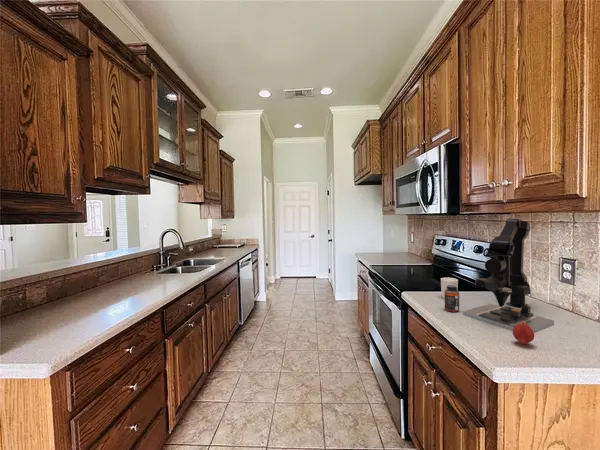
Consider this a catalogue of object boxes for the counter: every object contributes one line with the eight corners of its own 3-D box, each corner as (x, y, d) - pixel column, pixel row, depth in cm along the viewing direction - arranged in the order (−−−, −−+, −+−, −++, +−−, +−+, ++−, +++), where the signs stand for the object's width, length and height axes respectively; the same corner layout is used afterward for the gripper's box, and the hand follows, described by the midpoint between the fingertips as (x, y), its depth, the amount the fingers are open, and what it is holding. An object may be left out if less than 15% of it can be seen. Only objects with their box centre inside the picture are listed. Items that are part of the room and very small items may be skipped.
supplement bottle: (461, 312, 127) (461, 287, 126) (446, 312, 128) (446, 287, 127) (456, 308, 133) (456, 284, 132) (442, 307, 134) (442, 284, 133)
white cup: (442, 295, 153) (442, 276, 153) (458, 297, 149) (458, 278, 148) (439, 299, 147) (439, 279, 146) (456, 301, 142) (456, 281, 142)
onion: (508, 341, 99) (508, 318, 99) (523, 340, 99) (523, 317, 99) (522, 349, 93) (522, 324, 93) (538, 347, 94) (539, 323, 93)
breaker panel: (490, 306, 133) (490, 296, 133) (554, 324, 112) (554, 311, 112) (463, 314, 124) (463, 303, 124) (526, 335, 103) (527, 321, 103)
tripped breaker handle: (513, 314, 116) (513, 308, 116) (520, 316, 114) (520, 310, 114) (511, 315, 116) (511, 309, 115) (518, 317, 113) (518, 310, 113)
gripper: (467, 268, 124) (467, 303, 124) (515, 276, 107) (515, 317, 108) (482, 265, 129) (482, 299, 129) (531, 272, 112) (531, 311, 113)
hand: (501, 306), depth 120 cm, fingers closed
